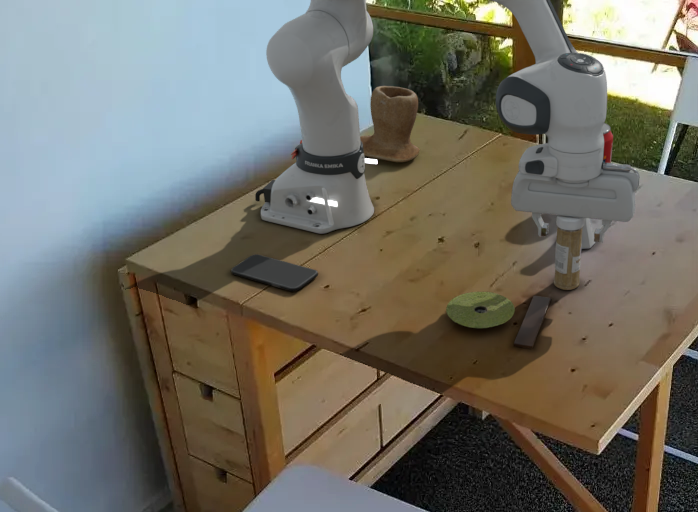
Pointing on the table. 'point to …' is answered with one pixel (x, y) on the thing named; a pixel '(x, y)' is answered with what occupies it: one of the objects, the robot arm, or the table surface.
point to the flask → (587, 235)
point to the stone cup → (392, 124)
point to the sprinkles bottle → (568, 252)
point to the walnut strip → (532, 322)
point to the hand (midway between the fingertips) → (570, 237)
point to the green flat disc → (480, 309)
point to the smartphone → (274, 272)
